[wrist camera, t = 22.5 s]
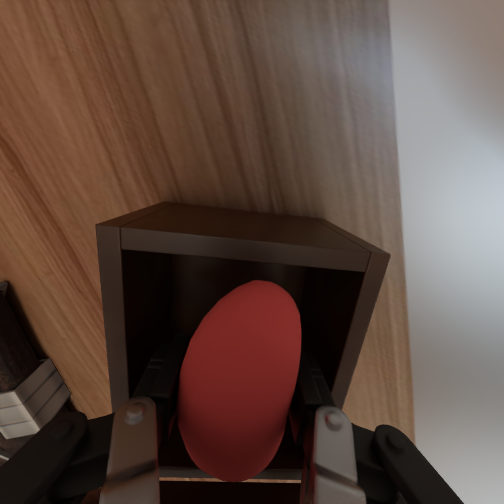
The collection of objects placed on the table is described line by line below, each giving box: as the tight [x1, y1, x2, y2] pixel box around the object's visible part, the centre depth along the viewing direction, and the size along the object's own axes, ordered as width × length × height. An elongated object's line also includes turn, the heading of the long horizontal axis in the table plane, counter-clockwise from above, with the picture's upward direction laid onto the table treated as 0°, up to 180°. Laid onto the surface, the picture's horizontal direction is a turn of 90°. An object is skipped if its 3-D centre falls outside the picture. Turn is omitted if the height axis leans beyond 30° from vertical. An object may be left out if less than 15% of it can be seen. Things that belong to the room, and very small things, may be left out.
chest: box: [96, 202, 390, 480], centre depth 17 cm, size 16×13×9 cm
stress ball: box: [177, 280, 301, 482], centre depth 11 cm, size 5×9×6 cm, turn 161°
